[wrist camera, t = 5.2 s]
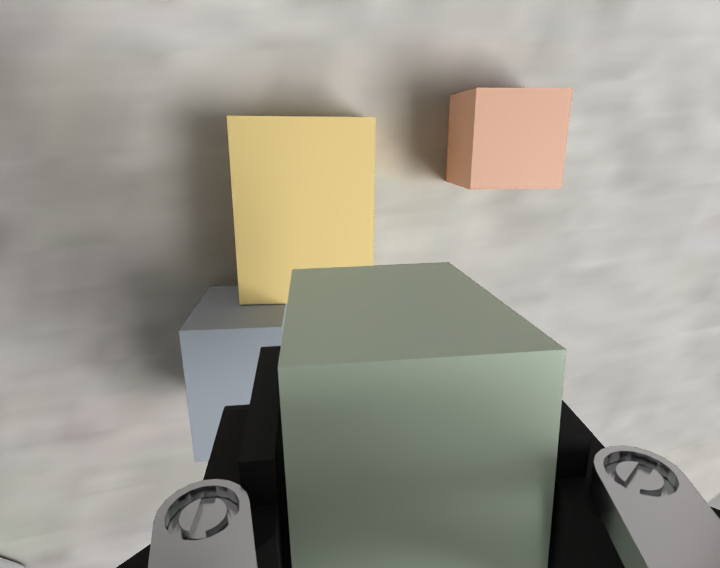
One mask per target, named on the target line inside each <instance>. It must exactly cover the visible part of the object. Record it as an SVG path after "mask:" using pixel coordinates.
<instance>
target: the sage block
mask: <svg viewBox="0 0 720 568" xmlns="http://www.w3.org/2000/svg"><path fill="white" fill-rule="evenodd" d="M565 358H566V349H565V348H564V347H562V346H561V345H560V344H558V343H557V342H556V341H554V340H553V339H552V338H550V337H549V336H547V335H546V334H545V333H543V332H542V331H541V330H539V329H538V328H537V327H535V326H534V325H533V324H531V323H530V322H529V321H527V320H526V319H525V318H523V317H522V316H521V315H519V314H518V313H516V312H515V311H514V310H512V309H511V308H510V307H508V306H507V305H506V304H504V303H503V302H502V301H500V300H499V299H498V298H496V297H495V296H494V295H492V294H491V293H490V292H488V291H487V290H485V289H484V288H483V287H481V286H480V285H479V284H477V283H476V282H475V281H473V280H472V279H471V278H469V277H468V276H467V275H465V274H464V273H463V272H461V271H460V270H459V269H457V268H456V267H454V266H453V265H452V264H450V263H449V262H441V263H419V264H397V265H375V266H353V267H331V268H309V269H292V274H291V281H290V287H289V294H288V301H287V308H286V315H285V321H284V328H283V335H282V342H281V349H280V355H279V362H278V380H279V394H280V408H281V422H282V436H283V450H284V464H285V478H286V492H287V506H288V520H289V534H290V548H291V562H292V568H547V567H548V555H549V544H550V532H551V521H552V509H553V497H554V486H555V474H556V463H557V451H558V440H559V428H560V416H561V405H562V393H563V382H564V370H565Z"/></svg>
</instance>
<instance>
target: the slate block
mask: <svg viewBox="0 0 720 568" xmlns="http://www.w3.org/2000/svg"><path fill="white" fill-rule="evenodd" d="M286 308H287V304H247V305H240V304H239V289H238V286H210V287H209V288H208V290H207V291H206V292H205V294H204V295H203V297H202V298H201V300H200V301H199V302H198V304H197V305H196V307H195V308H194V310H193V311H192V313H191V314H190V315H189V317H188V318H187V320H186V321H185V323H184V324H183V325H182V327H181V328H180V330H179V338H180V346H181V354H182V362H183V370H184V378H185V386H186V394H187V402H188V410H189V418H190V426H191V434H192V442H193V451H194V459H195V462H198V461H209V458H210V455H211V451H212V448H213V444H214V441H215V437H216V434H217V430H218V426H219V423H220V419H221V416H222V412H223V409H224V407H225V406H231V405H246V404H250V399H251V394H252V389H253V384H254V379H255V374H256V369H257V364H258V359H259V354H260V349H261V347H268V346H281V342H282V335H283V328H284V321H285V315H286Z"/></svg>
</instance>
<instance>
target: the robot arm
mask: <svg viewBox="0 0 720 568" xmlns="http://www.w3.org/2000/svg"><path fill="white" fill-rule="evenodd" d="M280 349H281V346H268V347H261V349H260V354H259V359H258V364H257V369H256V374H255V379H254V384H253V389H252V394H251V399H250V404H246V405H231V406H225V407H224V409H223V412H222V416H221V419H220V423H219V426H218V430H217V434H216V437H215V441H214V444H213V448H212V451H211V455H210V458H209V462H208V465H207V469H206V472H205V476H204V479H203V480H202V481H199V482H196V483H192V484H189V485H187V486H185V487H183V488H182V489H180V490H178V491H176V492H175V493H174V494H172V495H171V496H170V497H169V498H167V499H166V500H165V501H164V503H163V504H162V505H161V507H160V508H159V509H158V511H157V513H156V516H155V519H154V522H153V530H152V538H151V544H150V545H149V546H147V547H146V548H144V549H143V550H141V551H140V552H138V553H137V554H135V555H134V556H133V557H131V558H130V559H128V560H127V561H125V562H124V563H122V564H121V565H119V566H118V567H117V568H292V562H291V548H290V534H289V520H288V506H287V492H286V478H285V464H284V450H283V436H282V422H281V408H280V394H279V380H278V362H279V355H280ZM547 568H720V510H718V509H715V508H712V507H710V506H709V505H708V503H707V502H706V501H705V500H704V498H703V497H702V496H701V495H700V493H699V492H698V491H697V489H696V488H695V487H694V486H693V484H692V483H691V482H690V480H689V479H688V478H687V477H686V475H685V474H684V473H683V472H682V471H681V470H680V469H679V468H678V467H677V466H676V465H675V464H673V463H671V462H670V461H668V460H667V459H665V458H664V457H662V456H660V455H657V454H655V453H653V452H651V451H648V450H644V449H641V448H637V447H631V446H623V445H621V446H610V447H607V448H605V447H604V446H603V445H602V444H601V443H600V442H599V440H598V439H597V438H596V437H595V436H594V435H593V433H592V432H591V431H590V430H589V429H588V428H587V427H586V426H585V425H584V423H583V422H582V421H581V420H580V419H579V418H578V417H577V416H576V415H575V413H574V412H573V411H572V410H571V409H570V408H569V407H568V406H567V405H566V403H565V402H564V401H563V400H562V405H561V416H560V428H559V440H558V451H557V463H556V474H555V486H554V497H553V509H552V521H551V532H550V544H549V555H548V567H547Z"/></svg>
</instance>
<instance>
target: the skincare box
mask: <svg viewBox="0 0 720 568" xmlns="http://www.w3.org/2000/svg"><path fill="white" fill-rule="evenodd" d="M0 568H25V567H24V566H23V565H21V564H18V563H16V562H13V561H10V560H7V559H3V558H1V557H0Z"/></svg>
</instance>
